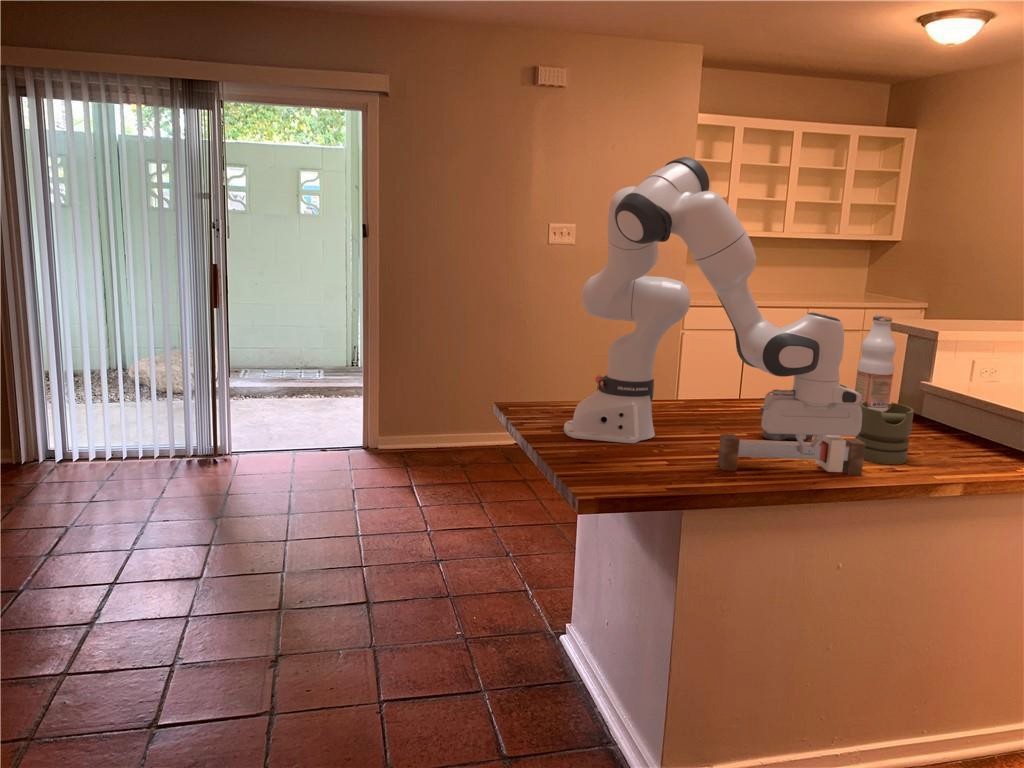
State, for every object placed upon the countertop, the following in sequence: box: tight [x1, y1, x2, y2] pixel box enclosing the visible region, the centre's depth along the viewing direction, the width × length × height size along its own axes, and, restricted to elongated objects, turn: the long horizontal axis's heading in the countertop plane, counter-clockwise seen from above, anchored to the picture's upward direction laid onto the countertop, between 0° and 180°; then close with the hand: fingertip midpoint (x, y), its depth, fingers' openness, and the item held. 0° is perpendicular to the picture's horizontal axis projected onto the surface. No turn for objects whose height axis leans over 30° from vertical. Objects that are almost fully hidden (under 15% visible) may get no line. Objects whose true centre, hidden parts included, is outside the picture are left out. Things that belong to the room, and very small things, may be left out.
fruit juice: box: [854, 315, 897, 412], centre depth 223 cm, size 9×9×28 cm
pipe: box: [759, 405, 813, 441], centre depth 192 cm, size 6×13×8 cm, turn 78°
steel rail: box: [738, 439, 850, 461], centre depth 168 cm, size 28×3×3 cm, turn 90°
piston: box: [854, 401, 915, 466], centre depth 179 cm, size 11×12×11 cm
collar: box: [814, 435, 846, 473], centre depth 168 cm, size 3×7×7 cm, turn 0°
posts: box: [717, 433, 866, 476], centre depth 168 cm, size 30×4×7 cm, turn 90°
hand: (807, 453), depth 165 cm, fingers closed
